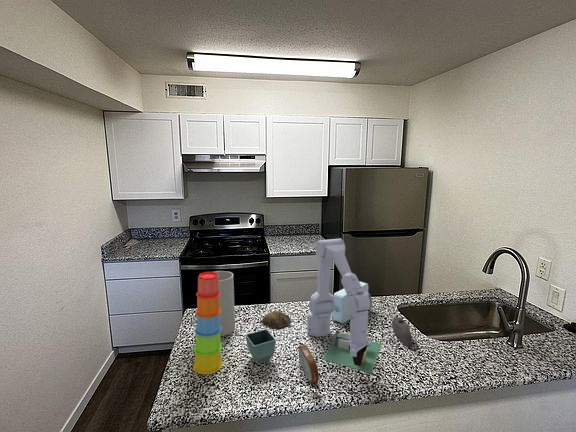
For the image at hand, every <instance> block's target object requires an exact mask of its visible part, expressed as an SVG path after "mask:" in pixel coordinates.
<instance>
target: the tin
mask: <svg viewBox="0 0 576 432" xmlns="http://www.w3.org/2000/svg"><path fill="white" fill-rule="evenodd" d="M297 349H298V350H297V351H298V361H299V364H300V365H301V367H302V369H303V371H304V373H305V375H306V377H307V379H308V381H309V384H311V385H312V384H314V383H319V382H320V374H319V373H320V372H319V368H318V365H317V362H316V359H315V357H314V354H312V352H311V351H310V348H309V346H308V345H307V344H302V345H299V346H298V348H297Z"/></svg>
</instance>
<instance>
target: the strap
mask: <svg viewBox="0 0 576 432" xmlns="http://www.w3.org/2000/svg"><path fill="white" fill-rule="evenodd" d="M333 336H336V338H338V339H343V340H347V341H349V338H350V336H348V335H344V334H342V333H340V334H339V332H336V331H335V332H334V334H333ZM367 340H369V341H371V343H372V341H373V339H370V338H367ZM370 345H371V344H370ZM369 347H370V346H369Z"/></svg>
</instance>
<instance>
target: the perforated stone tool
mask: <svg viewBox="0 0 576 432" xmlns="http://www.w3.org/2000/svg"><path fill="white" fill-rule="evenodd" d="M391 327H392V330H393V332H394V334H395V337H396V338H398V340H399V341H400V342H401V343H402V344H403V345H404V346H406V347H408V348H410V347H411V346H412V344H413V336H412V332H411V330H410V328H409V326H408V324H407V322H406V321H405V320H404V319H403V318H402V317H400V316H399V317H398V316H395V317H393V318H392V320H391Z"/></svg>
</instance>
